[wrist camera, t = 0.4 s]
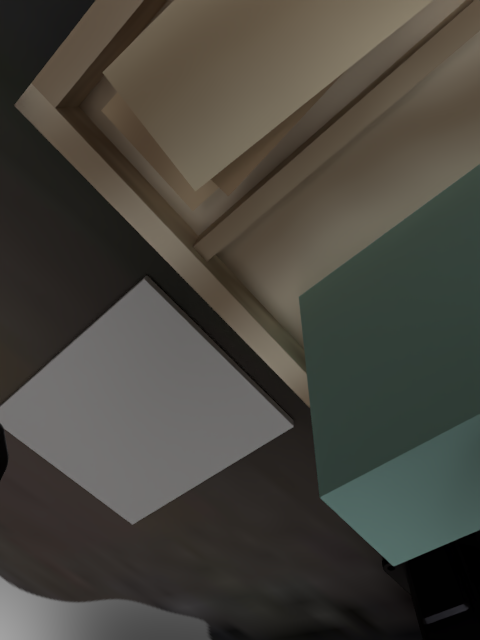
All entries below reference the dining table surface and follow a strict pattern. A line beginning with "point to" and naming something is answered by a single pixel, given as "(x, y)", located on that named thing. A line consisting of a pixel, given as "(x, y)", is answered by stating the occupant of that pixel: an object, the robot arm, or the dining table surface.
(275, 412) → the grey mat
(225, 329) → the dining table surface
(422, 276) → the teal square block
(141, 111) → the pine offcut
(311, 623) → the dining table surface
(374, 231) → the rack
